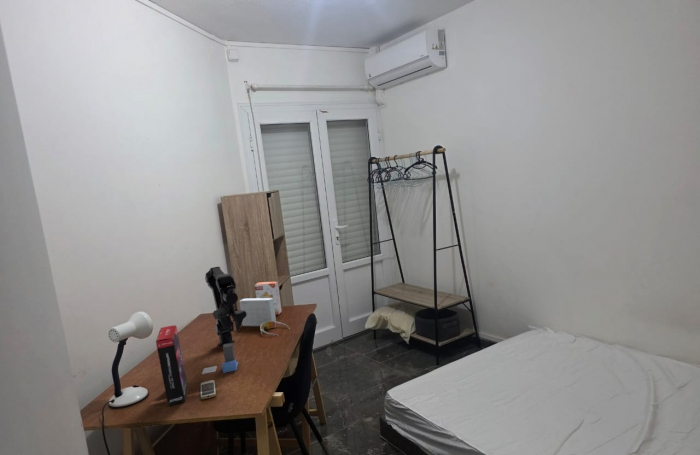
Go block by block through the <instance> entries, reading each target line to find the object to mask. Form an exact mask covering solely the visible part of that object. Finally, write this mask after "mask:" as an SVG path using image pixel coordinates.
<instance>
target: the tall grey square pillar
mask: <svg viewBox="0 0 700 455" xmlns="http://www.w3.org/2000/svg"><path fill="white" fill-rule="evenodd" d="M233 343H234V342H233ZM233 343H228V344H224V345H222V349H223V350H222V351H223V357H224V362H230V361H235V360H236V358H235V351H234V350H235V349H234V344H233Z"/></svg>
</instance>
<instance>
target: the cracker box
mask: <svg viewBox="0 0 700 455" xmlns="http://www.w3.org/2000/svg"><path fill="white" fill-rule="evenodd" d="M279 289H280V288H279V282H278V281H263V282H262V281H261V282H257V283H255V284H254V290H255V296H256V297H255V298H273V301H274V309H275V316H277V315H280V314H281V313H282V304H281V296H280V295H281V294H280V290H279Z"/></svg>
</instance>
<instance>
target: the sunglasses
mask: <svg viewBox="0 0 700 455" xmlns="http://www.w3.org/2000/svg"><path fill="white" fill-rule="evenodd" d="M277 324H278V325H283V326H285V327H287V328H288V329H289V330H291V329H290V327H289V326H288V325H287V324H286V323H282V322H279V321H277V320H276V321H266V322H264V323H262V324H261V326H259V329H260V335H263V333H265V334H267V335H272V336H275V337H279V335H278V334H275V333H271V332H267V331H266V330H270V329H272V328H273V329H274V328H276V327H277Z"/></svg>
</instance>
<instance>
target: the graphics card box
mask: <svg viewBox="0 0 700 455" xmlns="http://www.w3.org/2000/svg"><path fill="white" fill-rule="evenodd" d="M155 343H156V344H155V345H156V348H157V354H158V361H159V364H160V369H161V370H160V371H161V376H162V380H163V384H164V389H165V395H166V401H167V405H168V406H169V407H170V406H173V405H178V404H181V403H184V402H186V396H187V387H188V386H187V384H188V380H187V375H186V370H185V364H184V359H183V353H182V348H181V343H180V338H179V332H178V327H177V325H176V324H175V325H174V324H173V325H168V326H163V327H160V329H159V332H158V335H157V338H156V340H155Z"/></svg>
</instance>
